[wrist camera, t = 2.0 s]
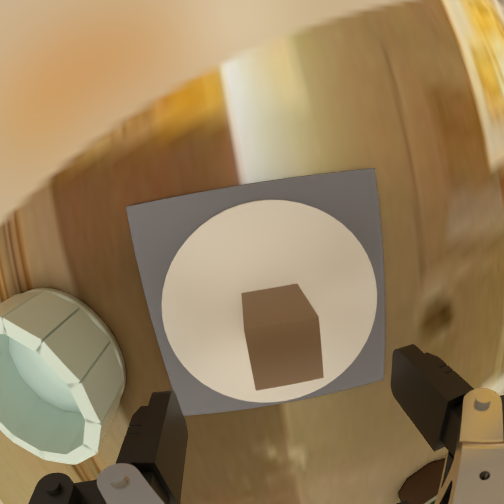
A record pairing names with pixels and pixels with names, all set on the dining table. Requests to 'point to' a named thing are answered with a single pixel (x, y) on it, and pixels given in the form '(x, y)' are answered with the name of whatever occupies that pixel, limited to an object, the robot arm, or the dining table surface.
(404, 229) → the dining table surface
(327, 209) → the mat
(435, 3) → the dining table surface
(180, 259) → the lid
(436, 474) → the beer bottle
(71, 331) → the bowl
